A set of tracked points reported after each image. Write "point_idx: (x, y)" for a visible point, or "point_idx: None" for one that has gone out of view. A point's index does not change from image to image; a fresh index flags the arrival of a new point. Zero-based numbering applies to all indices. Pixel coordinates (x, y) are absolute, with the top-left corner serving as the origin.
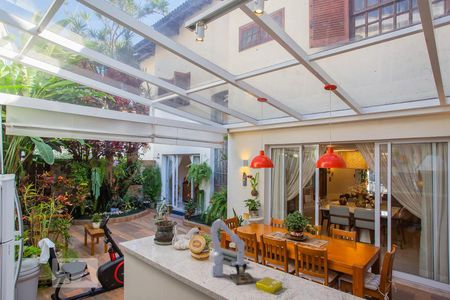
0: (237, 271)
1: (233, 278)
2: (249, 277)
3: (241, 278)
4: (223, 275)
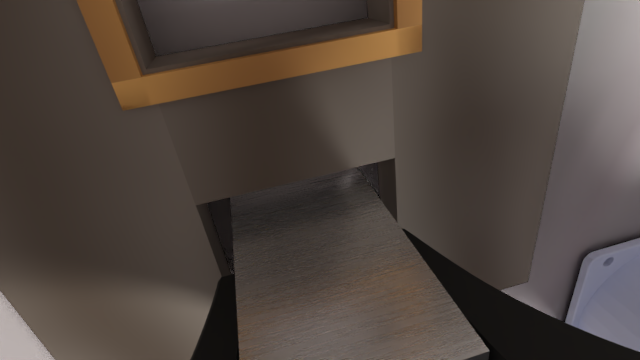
0: None
1: (563, 46)
2: (24, 99)
3: (338, 33)
4: (606, 252)
